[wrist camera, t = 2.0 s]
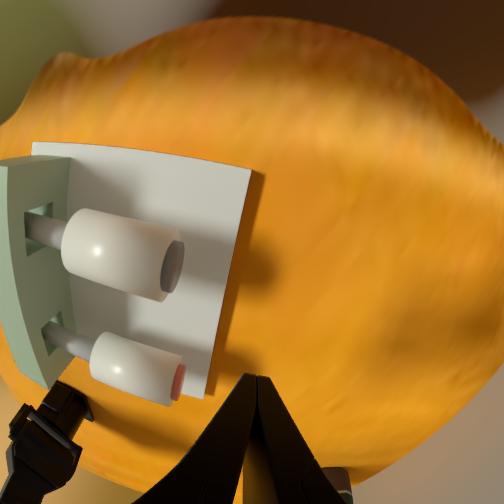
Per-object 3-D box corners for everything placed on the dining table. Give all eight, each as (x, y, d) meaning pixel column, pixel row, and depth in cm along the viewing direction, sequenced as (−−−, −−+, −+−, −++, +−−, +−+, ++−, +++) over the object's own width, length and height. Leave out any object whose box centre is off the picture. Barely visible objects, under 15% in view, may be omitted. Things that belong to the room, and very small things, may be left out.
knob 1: (41, 240, 16) (7, 259, 13) (40, 190, 15) (2, 202, 11) (182, 283, 17) (161, 318, 13) (191, 222, 15) (167, 244, 11)
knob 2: (62, 334, 19) (38, 359, 16) (55, 298, 18) (27, 322, 14) (185, 381, 20) (173, 418, 16) (189, 346, 18) (174, 385, 15)
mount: (204, 393, 23) (189, 453, 16) (51, 335, 22) (16, 373, 16) (252, 169, 16) (240, 178, 9) (39, 141, 16) (-25, 148, 9)
